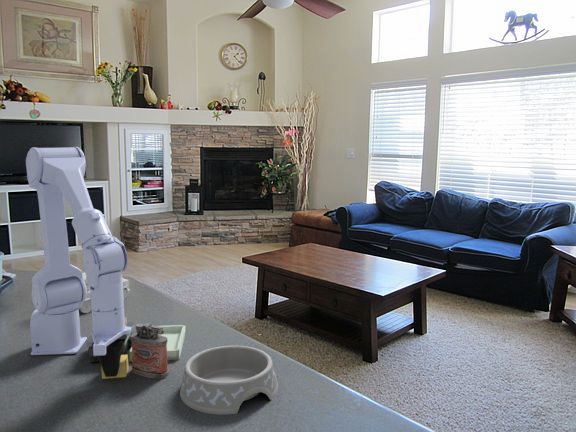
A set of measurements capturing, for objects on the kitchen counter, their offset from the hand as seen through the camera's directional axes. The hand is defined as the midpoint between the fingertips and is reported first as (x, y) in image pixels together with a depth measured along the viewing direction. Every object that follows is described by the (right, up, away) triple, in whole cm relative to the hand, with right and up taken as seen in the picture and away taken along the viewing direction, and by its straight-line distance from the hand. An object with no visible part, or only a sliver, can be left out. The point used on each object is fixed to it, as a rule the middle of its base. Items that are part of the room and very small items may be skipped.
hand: (111, 375), depth 95 cm
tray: (+5, +1, +16) cm, 17 cm away
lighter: (+6, -1, +4) cm, 7 cm away
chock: (0, -1, +3) cm, 3 cm away
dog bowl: (+23, -2, -2) cm, 23 cm away
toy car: (-20, +5, +43) cm, 48 cm away
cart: (-4, +1, +12) cm, 13 cm away
